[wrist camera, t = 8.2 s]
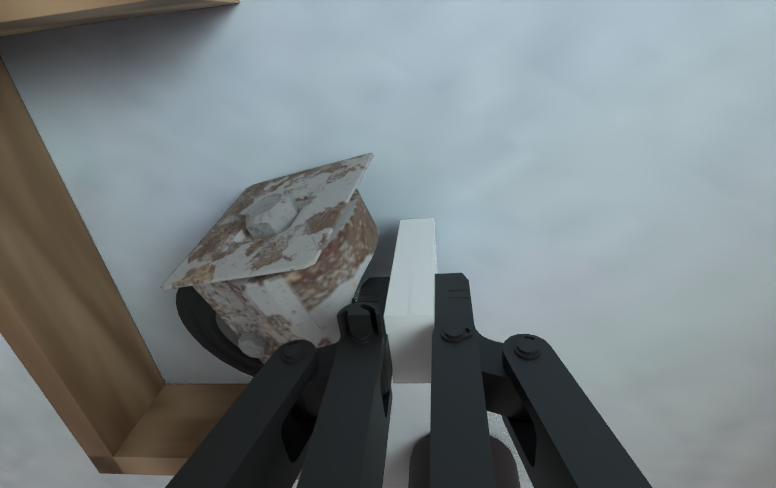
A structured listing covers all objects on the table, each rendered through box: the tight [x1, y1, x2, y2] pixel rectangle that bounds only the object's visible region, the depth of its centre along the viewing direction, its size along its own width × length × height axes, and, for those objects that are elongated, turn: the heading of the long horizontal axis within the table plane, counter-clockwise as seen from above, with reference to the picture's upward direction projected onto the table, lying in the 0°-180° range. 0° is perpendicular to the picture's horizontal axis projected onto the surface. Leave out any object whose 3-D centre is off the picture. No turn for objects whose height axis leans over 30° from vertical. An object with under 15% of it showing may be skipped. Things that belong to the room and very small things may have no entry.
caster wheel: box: [160, 153, 379, 377], centre depth 19 cm, size 7×11×10 cm
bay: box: [0, 0, 302, 479], centre depth 19 cm, size 12×23×5 cm, turn 7°
